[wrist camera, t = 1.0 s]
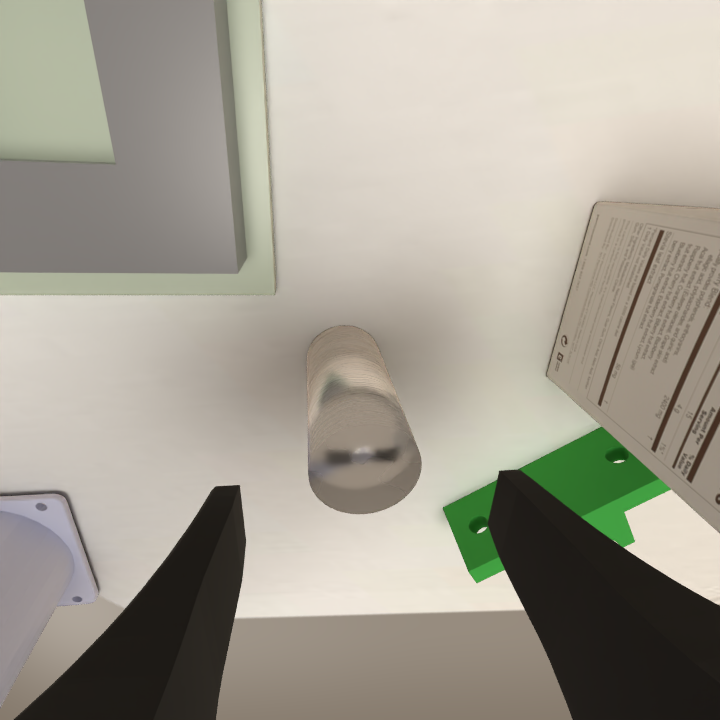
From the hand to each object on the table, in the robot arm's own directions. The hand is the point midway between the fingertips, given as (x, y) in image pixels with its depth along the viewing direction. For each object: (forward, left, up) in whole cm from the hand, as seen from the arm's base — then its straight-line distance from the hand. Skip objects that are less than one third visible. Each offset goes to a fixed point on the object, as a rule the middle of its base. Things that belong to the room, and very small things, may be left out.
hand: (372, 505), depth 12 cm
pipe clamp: (+12, -9, -10) cm, 18 cm away
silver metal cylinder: (0, 0, -9) cm, 9 cm away
